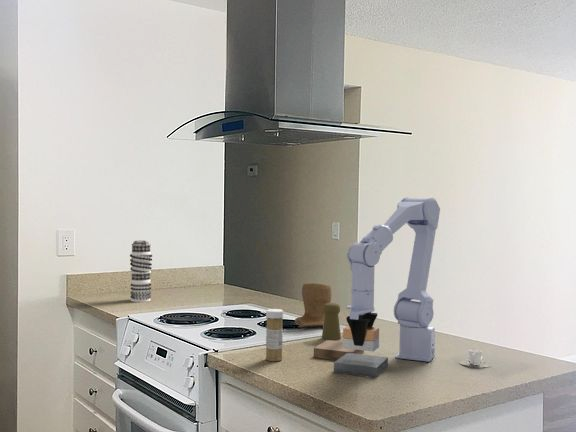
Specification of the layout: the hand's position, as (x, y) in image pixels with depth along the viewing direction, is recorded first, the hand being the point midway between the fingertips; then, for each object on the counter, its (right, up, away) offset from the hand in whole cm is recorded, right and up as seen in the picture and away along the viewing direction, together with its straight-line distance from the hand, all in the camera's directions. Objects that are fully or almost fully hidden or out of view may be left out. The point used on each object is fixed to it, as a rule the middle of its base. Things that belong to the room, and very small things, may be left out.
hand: (361, 343), depth 159 cm
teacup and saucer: (+34, -8, +8) cm, 36 cm away
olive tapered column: (-5, -6, +36) cm, 37 cm away
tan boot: (-10, -6, +56) cm, 57 cm away
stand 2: (0, -7, 0) cm, 7 cm away
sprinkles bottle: (-22, -6, +9) cm, 25 cm away
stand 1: (-4, -6, +15) cm, 17 cm away
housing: (0, -1, 0) cm, 1 cm away
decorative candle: (-81, -3, +104) cm, 131 cm away
